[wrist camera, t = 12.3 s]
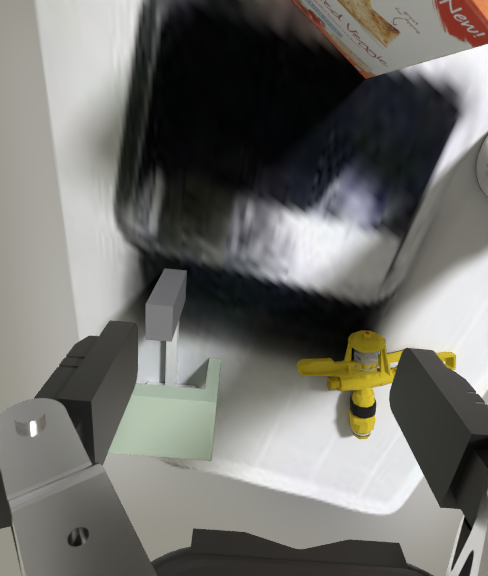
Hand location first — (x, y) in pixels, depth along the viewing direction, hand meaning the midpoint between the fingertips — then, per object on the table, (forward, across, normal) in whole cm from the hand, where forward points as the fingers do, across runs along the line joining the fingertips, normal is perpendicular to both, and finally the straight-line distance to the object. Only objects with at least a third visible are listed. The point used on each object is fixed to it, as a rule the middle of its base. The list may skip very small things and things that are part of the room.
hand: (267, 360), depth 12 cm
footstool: (+30, +8, +24) cm, 39 cm away
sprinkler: (+31, -17, +21) cm, 41 cm away
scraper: (+30, +7, +17) cm, 35 cm away
